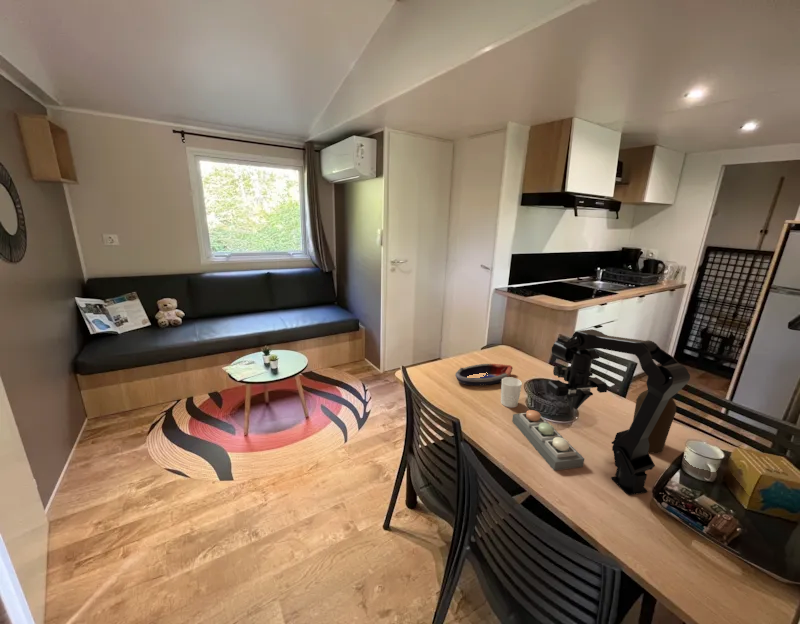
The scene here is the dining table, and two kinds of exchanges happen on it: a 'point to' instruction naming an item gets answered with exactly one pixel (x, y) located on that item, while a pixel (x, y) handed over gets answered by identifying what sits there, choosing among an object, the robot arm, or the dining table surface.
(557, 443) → the cream button
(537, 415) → the terracotta button
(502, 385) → the white cup
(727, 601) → the dining table surface
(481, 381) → the dish
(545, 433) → the sage button
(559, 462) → the button panel
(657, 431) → the olive oil
